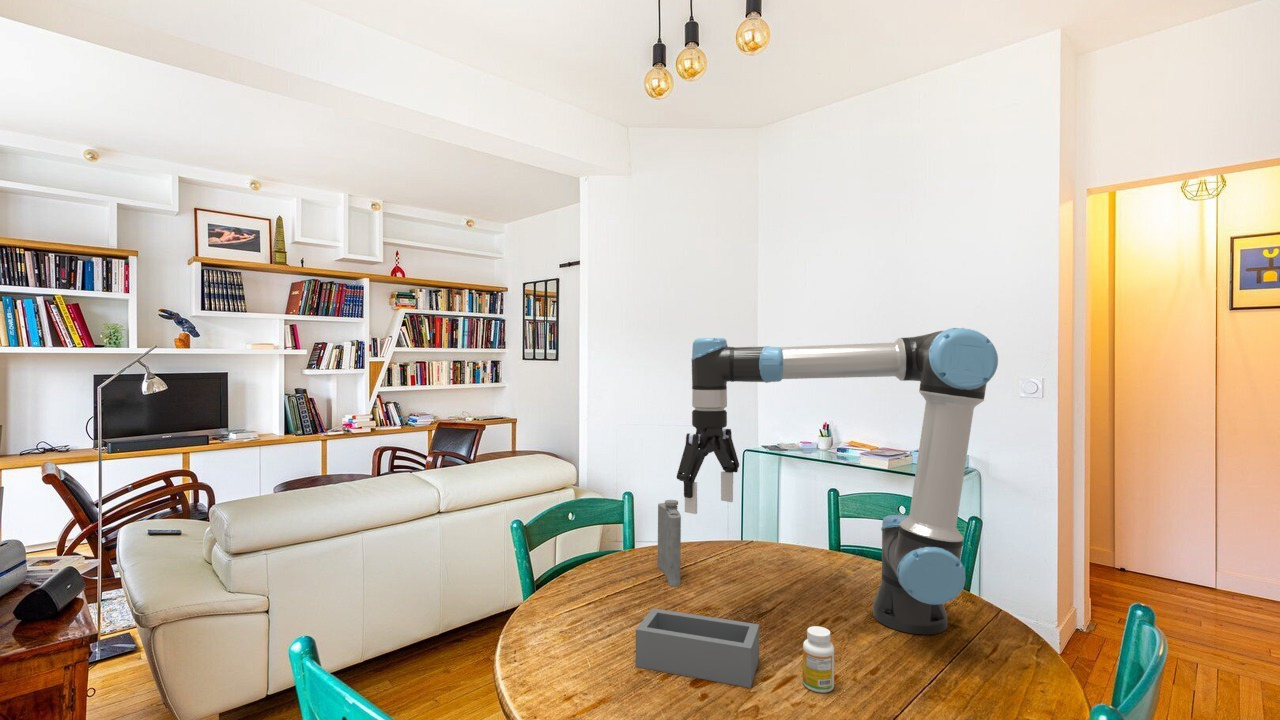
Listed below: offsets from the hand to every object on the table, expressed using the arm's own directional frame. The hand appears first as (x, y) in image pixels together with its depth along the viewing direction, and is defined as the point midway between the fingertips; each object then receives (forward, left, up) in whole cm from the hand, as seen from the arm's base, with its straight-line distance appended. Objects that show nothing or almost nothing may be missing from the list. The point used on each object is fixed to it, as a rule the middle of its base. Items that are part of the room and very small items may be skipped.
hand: (709, 506), depth 130 cm
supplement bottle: (-24, +17, -26) cm, 39 cm away
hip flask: (+16, -26, -26) cm, 41 cm away
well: (-2, +17, -26) cm, 31 cm away
